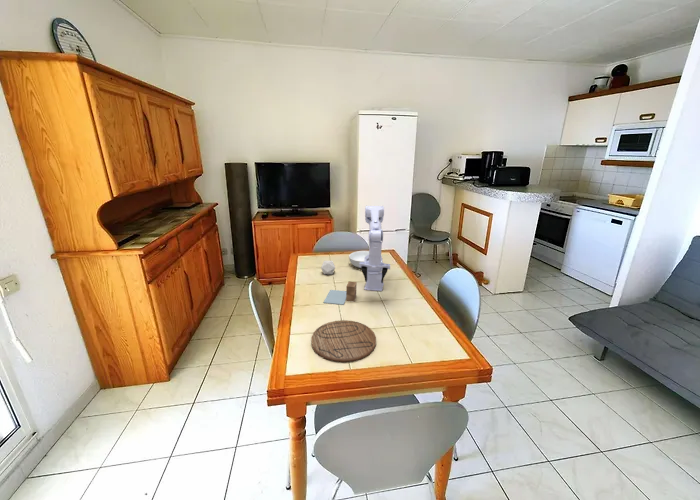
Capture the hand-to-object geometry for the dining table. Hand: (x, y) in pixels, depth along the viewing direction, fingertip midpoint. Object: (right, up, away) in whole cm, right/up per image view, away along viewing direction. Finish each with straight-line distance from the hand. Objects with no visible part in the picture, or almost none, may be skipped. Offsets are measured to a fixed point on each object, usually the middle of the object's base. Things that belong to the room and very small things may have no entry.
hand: (374, 281), depth 145 cm
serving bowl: (-2, +5, +48) cm, 48 cm away
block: (-11, -9, +5) cm, 15 cm away
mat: (-18, -8, +6) cm, 21 cm away
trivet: (-14, -21, -28) cm, 37 cm away
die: (-25, +1, +35) cm, 43 cm away
